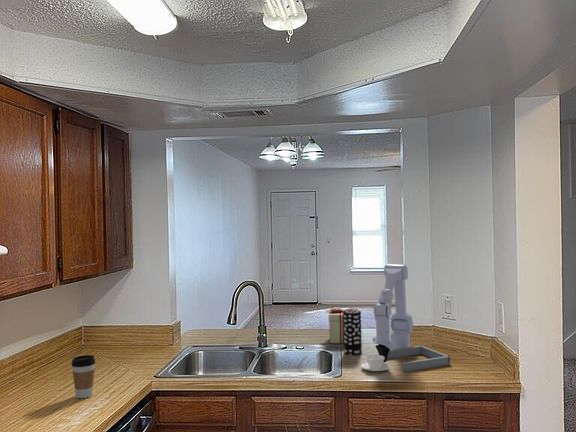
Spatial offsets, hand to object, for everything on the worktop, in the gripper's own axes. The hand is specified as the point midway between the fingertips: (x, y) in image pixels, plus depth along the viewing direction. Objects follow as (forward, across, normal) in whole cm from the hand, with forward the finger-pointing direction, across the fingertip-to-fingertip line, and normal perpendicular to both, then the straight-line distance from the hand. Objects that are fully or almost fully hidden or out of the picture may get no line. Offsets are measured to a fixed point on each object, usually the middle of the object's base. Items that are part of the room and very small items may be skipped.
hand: (383, 361), depth 217 cm
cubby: (+2, 0, +15) cm, 15 cm away
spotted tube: (+2, -24, -2) cm, 24 cm away
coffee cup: (+2, -15, -122) cm, 123 cm away
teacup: (+2, +2, -6) cm, 7 cm away
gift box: (+2, -49, +5) cm, 49 cm away
